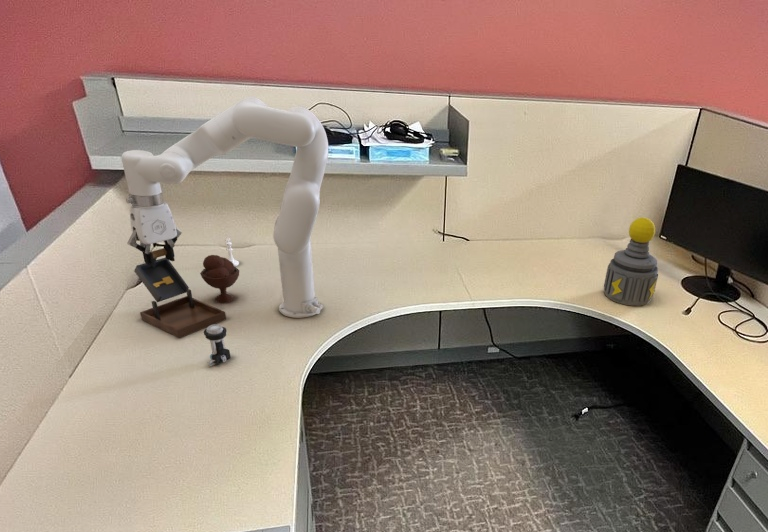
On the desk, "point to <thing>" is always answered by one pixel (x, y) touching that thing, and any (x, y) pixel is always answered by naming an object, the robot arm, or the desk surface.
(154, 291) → the scoop
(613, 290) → the decorative lamp
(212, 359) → the push button
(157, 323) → the tray
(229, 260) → the chess piece
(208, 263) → the ice cream bowl
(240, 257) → the desk surface
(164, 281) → the key
